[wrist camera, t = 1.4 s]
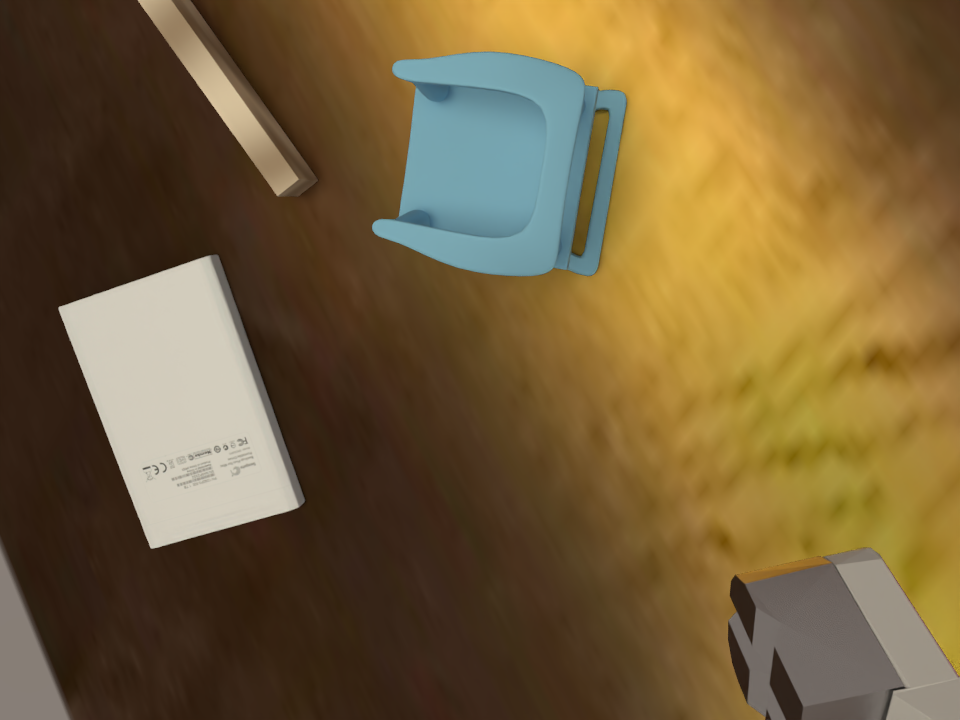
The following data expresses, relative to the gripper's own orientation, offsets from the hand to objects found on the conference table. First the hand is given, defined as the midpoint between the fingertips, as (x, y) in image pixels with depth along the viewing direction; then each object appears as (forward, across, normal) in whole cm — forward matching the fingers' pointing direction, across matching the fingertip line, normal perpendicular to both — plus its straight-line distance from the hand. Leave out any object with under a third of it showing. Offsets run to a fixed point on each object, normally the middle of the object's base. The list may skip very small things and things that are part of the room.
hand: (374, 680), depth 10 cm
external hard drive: (+30, +11, +18) cm, 37 cm away
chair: (+30, -6, +10) cm, 32 cm away
